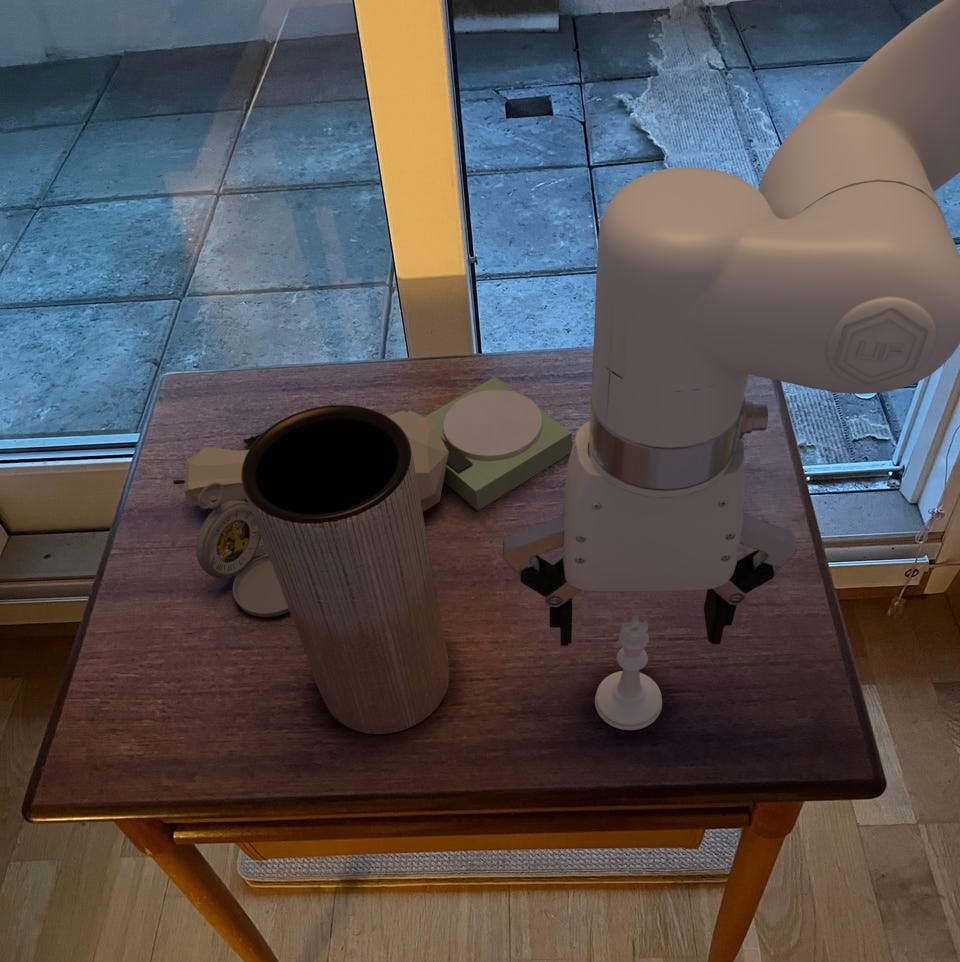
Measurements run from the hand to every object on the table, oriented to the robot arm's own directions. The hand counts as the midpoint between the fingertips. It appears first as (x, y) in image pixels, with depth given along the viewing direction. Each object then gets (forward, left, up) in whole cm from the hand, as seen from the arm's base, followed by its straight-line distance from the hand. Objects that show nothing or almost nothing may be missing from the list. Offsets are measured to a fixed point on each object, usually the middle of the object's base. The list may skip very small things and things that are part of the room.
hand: (637, 627), depth 63 cm
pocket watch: (+15, -29, -9) cm, 34 cm away
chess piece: (0, 0, -9) cm, 9 cm away
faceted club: (+6, -35, -9) cm, 36 cm away
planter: (+13, -14, -9) cm, 21 cm away
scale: (-9, -29, -9) cm, 32 cm away
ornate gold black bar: (+4, -44, -9) cm, 45 cm away
